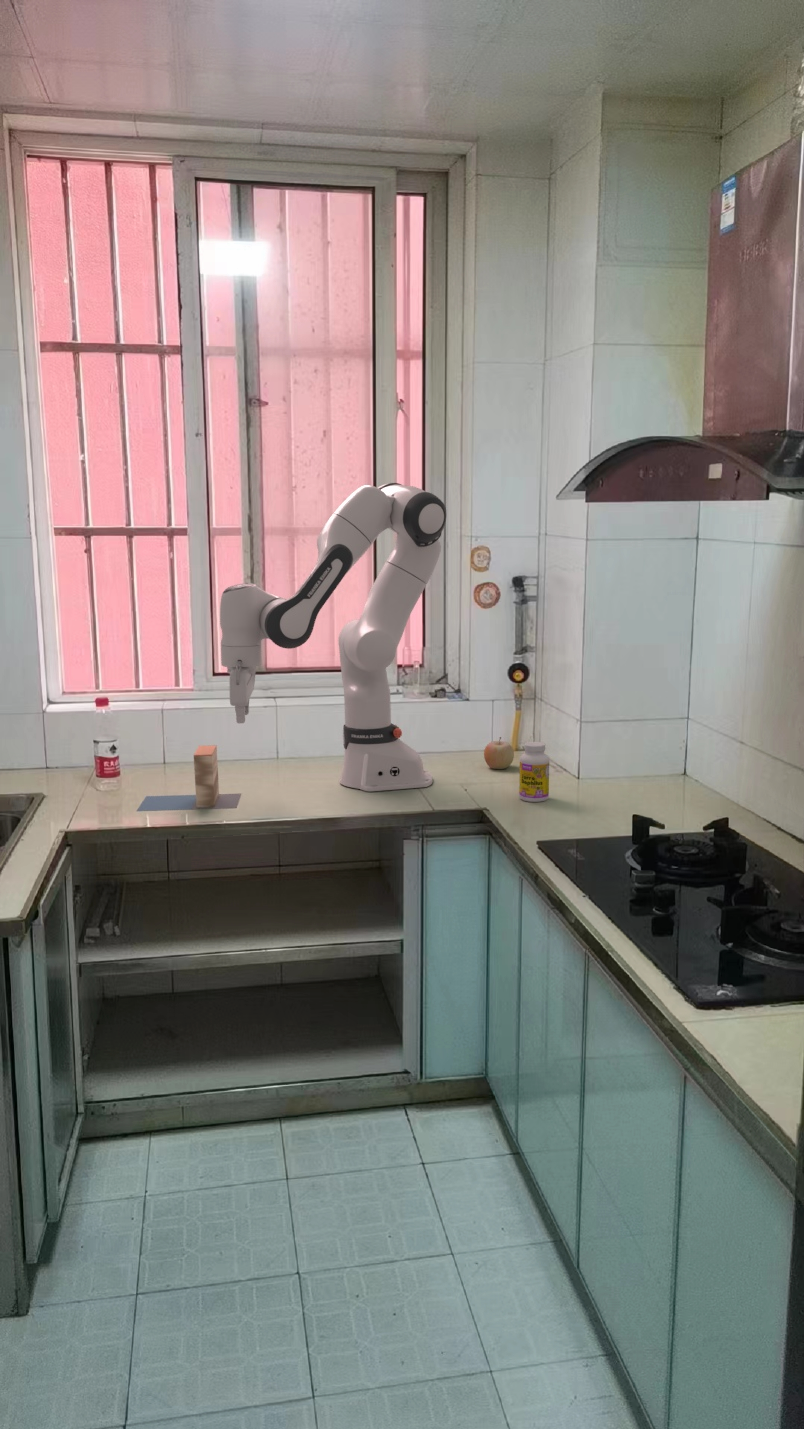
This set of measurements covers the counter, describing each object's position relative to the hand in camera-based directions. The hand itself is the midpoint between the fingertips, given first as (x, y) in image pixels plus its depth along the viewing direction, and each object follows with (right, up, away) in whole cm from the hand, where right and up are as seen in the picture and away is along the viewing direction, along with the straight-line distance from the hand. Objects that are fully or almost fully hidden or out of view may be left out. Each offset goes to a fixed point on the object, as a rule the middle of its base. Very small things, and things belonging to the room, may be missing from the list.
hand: (242, 718), depth 239 cm
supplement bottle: (+66, -18, +3) cm, 68 cm away
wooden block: (-8, -19, +3) cm, 21 cm away
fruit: (+60, -13, +32) cm, 69 cm away
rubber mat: (-12, -19, +3) cm, 23 cm away
